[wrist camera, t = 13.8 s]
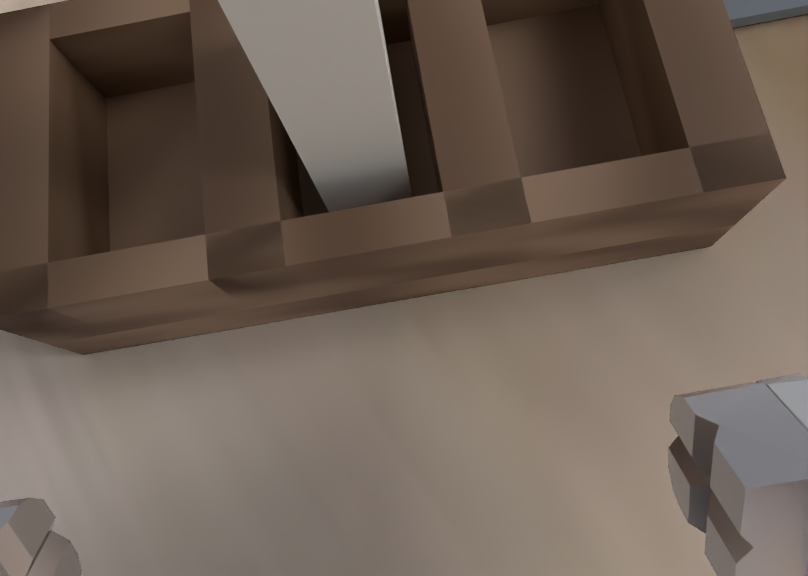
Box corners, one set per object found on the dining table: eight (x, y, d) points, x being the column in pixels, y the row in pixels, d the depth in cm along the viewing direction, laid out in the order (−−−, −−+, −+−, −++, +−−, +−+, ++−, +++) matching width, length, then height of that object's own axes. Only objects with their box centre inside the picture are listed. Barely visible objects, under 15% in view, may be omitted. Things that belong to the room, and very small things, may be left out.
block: (390, 69, 17) (313, -349, 8) (414, 208, 16) (353, -111, 7) (316, 83, 17) (162, -317, 8) (334, 222, 16) (178, -74, 7)
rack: (635, 1, 18) (679, -122, 15) (710, 246, 16) (786, 178, 12) (81, 107, 19) (-15, 16, 15) (83, 354, 17) (-27, 321, 13)
